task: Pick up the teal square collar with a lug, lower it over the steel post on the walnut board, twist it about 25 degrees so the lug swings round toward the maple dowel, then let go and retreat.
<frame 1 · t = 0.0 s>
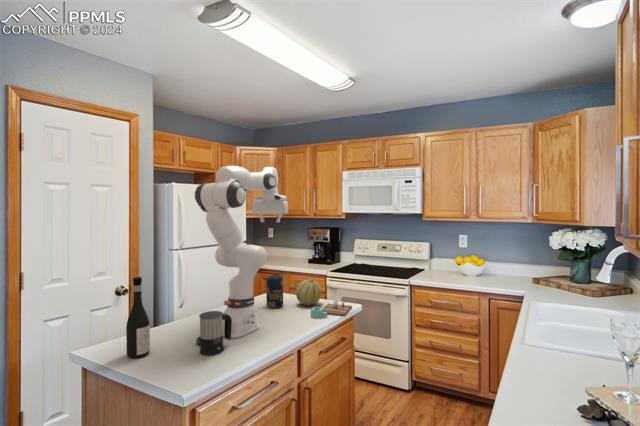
hand: (270, 222, 204), 48 cm above the worktop, fingers open, 8 cm apart
cantaloupe: (308, 305, 213), on the worktop
collar: (317, 316, 191), on the worktop
milk frother: (208, 348, 150), on the worktop
wine bottle: (138, 355, 143), on the worktop
canister: (274, 306, 210), on the worktop
board: (335, 310, 201), on the worktop
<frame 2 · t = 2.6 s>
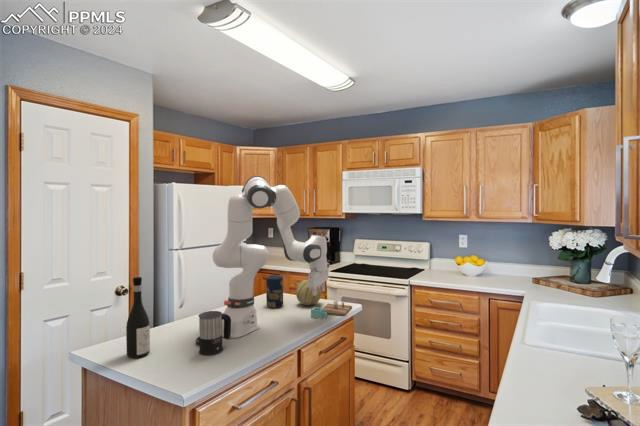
hand: (318, 293, 190), 12 cm above the worktop, fingers open, 8 cm apart
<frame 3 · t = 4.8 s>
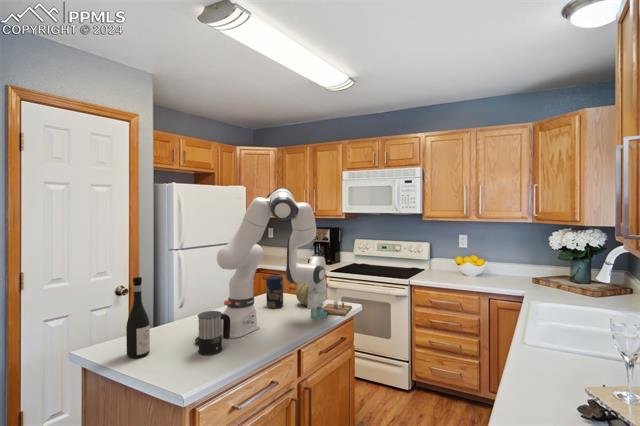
hand: (317, 313, 191), 2 cm above the worktop, fingers closed on collar, 5 cm apart
collar: (317, 316, 191), on the worktop, touching gripper
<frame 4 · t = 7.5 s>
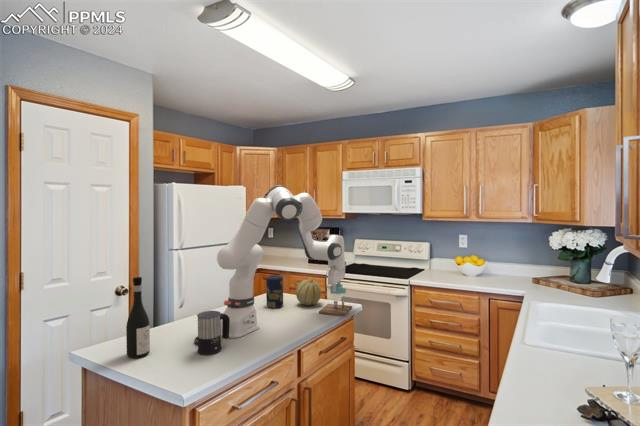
hand: (336, 289, 200), 12 cm above the worktop, fingers closed on collar, 5 cm apart
collar: (336, 292, 200), point 10 cm above the worktop, touching gripper
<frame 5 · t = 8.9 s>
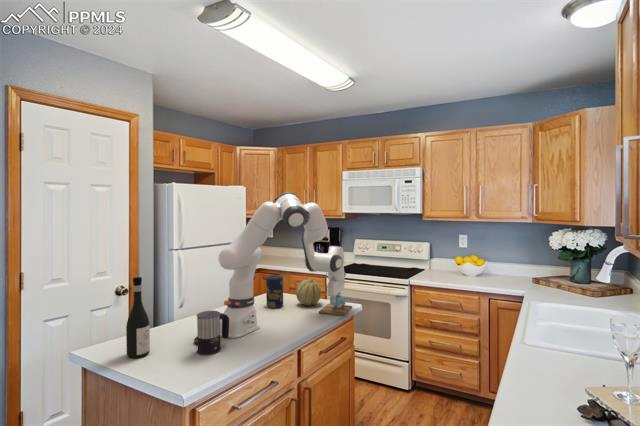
hand: (336, 300, 201), 5 cm above the worktop, fingers closed on collar, 5 cm apart
collar: (336, 303, 201), point 4 cm above the worktop, touching gripper
when the fingers open (3 cm above the worktop, at t = 10.2 s): collar stays where it is, resting on board.
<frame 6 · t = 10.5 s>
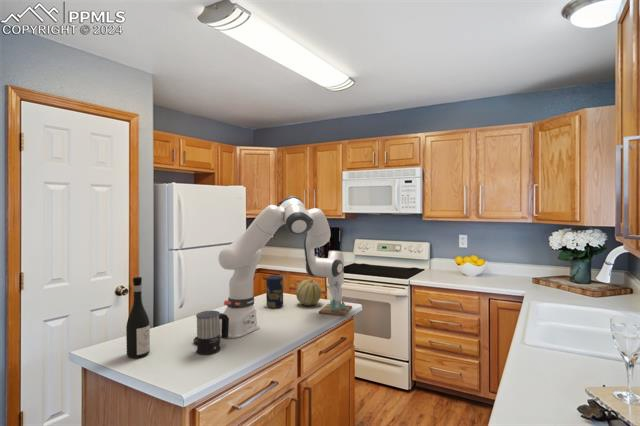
hand: (335, 305, 201), 3 cm above the worktop, fingers open, 8 cm apart
collar: (335, 308, 201), point 1 cm above the worktop, touching board
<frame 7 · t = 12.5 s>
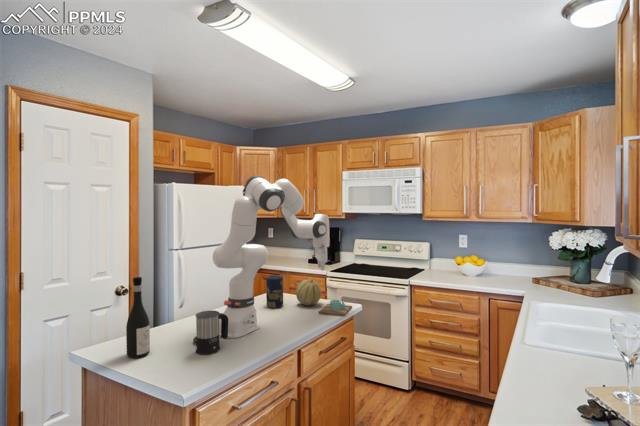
hand: (321, 268, 202), 23 cm above the worktop, fingers open, 8 cm apart
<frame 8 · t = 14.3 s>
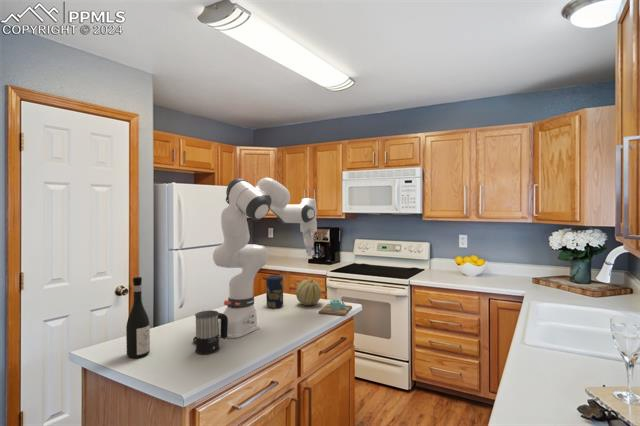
hand: (308, 254, 198), 31 cm above the worktop, fingers open, 8 cm apart
at the end: collar 0.0 cm from the board (horizontally); collar point 1.2 cm above the worktop; the gripper is holding nothing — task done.
